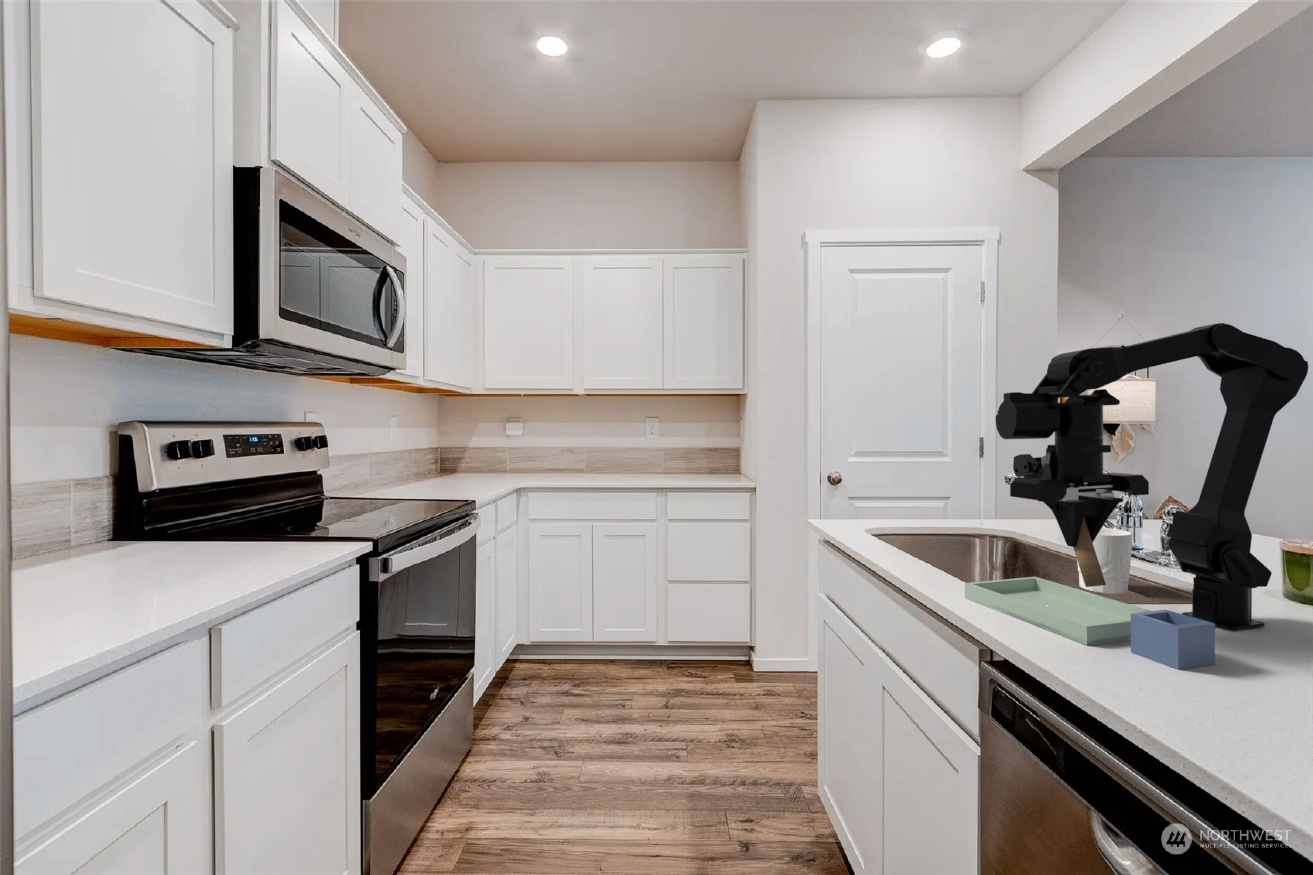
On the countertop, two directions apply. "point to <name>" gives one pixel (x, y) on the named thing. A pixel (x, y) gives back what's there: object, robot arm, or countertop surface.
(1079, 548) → the walnut dowel
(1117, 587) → the white cup
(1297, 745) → the countertop surface
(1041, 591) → the sage tray
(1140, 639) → the slate blue cup
